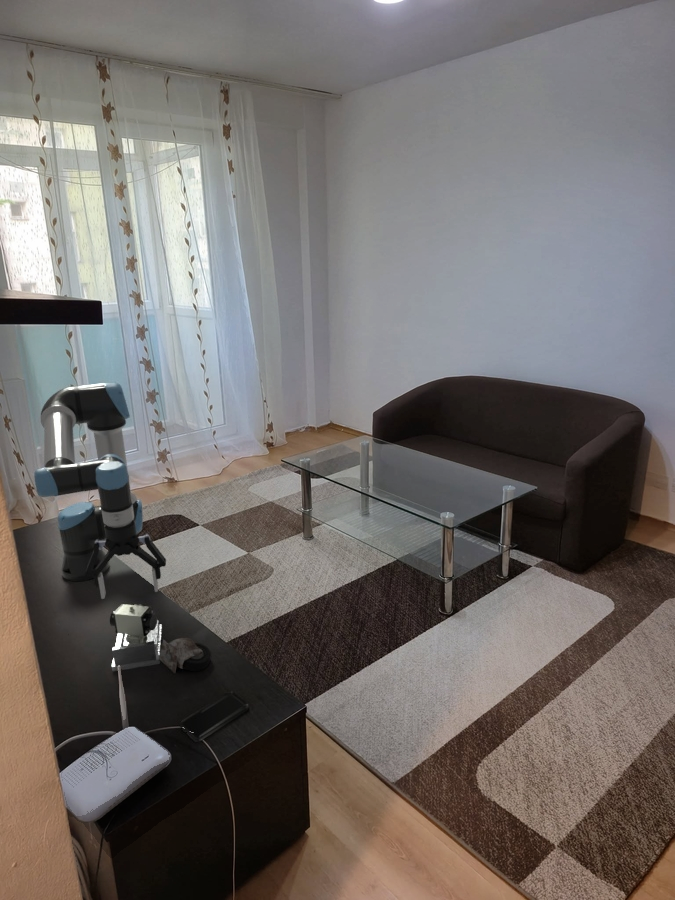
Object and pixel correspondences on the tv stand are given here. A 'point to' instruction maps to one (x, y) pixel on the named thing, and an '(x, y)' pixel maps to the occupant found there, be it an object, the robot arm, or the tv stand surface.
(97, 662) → the tv stand surface
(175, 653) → the caster wheel
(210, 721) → the phone
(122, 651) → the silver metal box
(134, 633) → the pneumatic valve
